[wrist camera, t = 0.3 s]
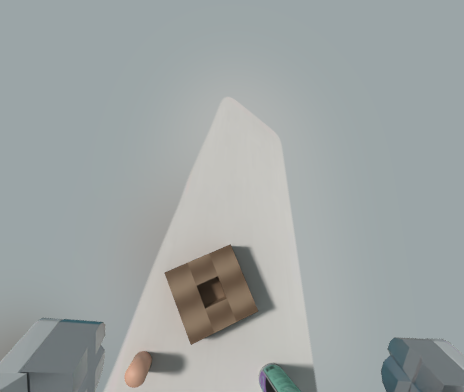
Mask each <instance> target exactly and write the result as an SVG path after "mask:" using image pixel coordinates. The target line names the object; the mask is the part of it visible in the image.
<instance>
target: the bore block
mask: <svg viewBox="0 0 464 392" xmlns="http://www.w3.org/2000/svg"><path fill="white" fill-rule="evenodd" d="M165 275H166V278H167V281H168V284H169V286H170V289H171V292H172V295H173V297H174V300H175V303H176V305H177V308H178V311H179V314H180V316H181V319H182V322H183V325H184V327H185V330H186V333H187V335H188V338H189V341H190V344H191V345H192V344H194V343H196V342H198V341H200V340H202V339H204V338H206V337H208V336H210V335H212V334H214V333H216V332H218V331H220V330H222V329H224V328H226V327H228V326H230V325H232V324H234V323H236V322H238V321H240V320H242V319H244V318H246V317H248V316H250V315H252V314H254V313H256V312H258V309H257V307H256V305H255V302H254V300H253V297H252V295H251V292H250V290H249V288H248V285H247V283H246V280H245V278H244V276H243V273H242V271H241V268H240V266H239V264H238V261H237V259H236V256H235V254H234V251H233V249H232V247H231V244H230V245H228V246H226V247H223V248H221V249H219V250H216V251H214V252H212V253H209V254H207V255H205V256H202V257H200V258H198V259H195V260H193V261H191V262H188V263H186V264H184V265H181V266H179V267H177V268H174V269H172V270H170V271H167V272H165Z"/></svg>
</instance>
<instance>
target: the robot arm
mask: <svg viewBox="0 0 464 392" xmlns="http://www.w3.org/2000/svg"><path fill="white" fill-rule="evenodd" d="M104 337H105V324H104V323H103V322H96V321H84V320H70V319H53V318H42V319H40V320H38V321H36V322H35V323H34V325H33V326H32V327H31V328H30V329H29V330H28V331H27V333H26V334H25V335H24V336H23V337H22V338H21V339H20V340H19V341H18V343H17V344H16V345H15V346H14V347H13V348H12V349H11V351H10V352H9V353H8V354H7V355H6V356H5V357H4V358H3V360H2V361H1V362H0V392H95V390H96V388H97V385H98V383H99V380H100V376H101V373H102V369H103V364H104V357H105V350H104V348H103V347H102V346H101V343H102V341H103V339H104ZM388 351H389V353H390V356H389V357H388V358H387V359H386V360H385V361H384V362H383V366H382V369H381V375H382V381H383V384H384V387H385V389H386V391H387V392H464V355H463V354H462V353H461V352H460V351H459V350H458V349H457V348H455V347H454V346H453V345H452V344H451V343H450V342H448V341H446V340H443V339H416V338H415V339H414V338H393V339H392V340H391V341H390V343H389V346H388Z"/></svg>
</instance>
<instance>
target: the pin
mask: <svg viewBox="0 0 464 392" xmlns="http://www.w3.org/2000/svg"><path fill="white" fill-rule="evenodd" d="M151 363H152V358H151V355H150V354H149V353H148V352H145V351H142V352H139V353H138V354H137V355H136V356H135V357H134V359H133V361H132V362H131V364H130V366H129V367H128V369H127V371H126V373H125V382H126V384H127V385H128V386H130V387H133V388H135V387H139V386H140V385H142V384H143V382H144V381H145V378H146V376H147V373H148V371H149V368H150V366H151Z"/></svg>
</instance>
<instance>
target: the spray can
mask: <svg viewBox="0 0 464 392" xmlns="http://www.w3.org/2000/svg"><path fill="white" fill-rule="evenodd" d="M259 384H260V387H261V389H262V390H263V392H301V391H300V390H299V389H298V388H297V386H296V385H295V384H294V383H293V382H292V380H291V379H290V378H289V377H288V376H287V374H286V373H285V372H284V371H283V370H282V368H281V367H279V366H278V365H277V364H273V363H270V364H267V365H265V366H264V367H263V368H262V369H261V371H260V373H259Z"/></svg>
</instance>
